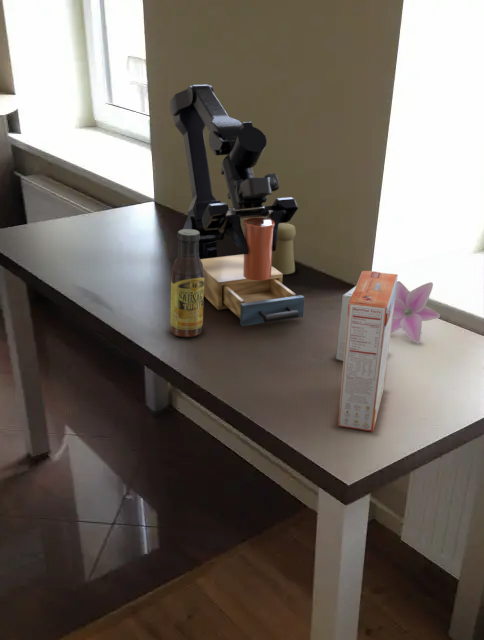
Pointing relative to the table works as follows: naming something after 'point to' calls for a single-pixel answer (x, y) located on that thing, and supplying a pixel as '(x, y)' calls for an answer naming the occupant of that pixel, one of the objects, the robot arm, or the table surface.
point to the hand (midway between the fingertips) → (260, 252)
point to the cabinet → (226, 276)
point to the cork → (284, 249)
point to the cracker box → (366, 349)
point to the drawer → (262, 301)
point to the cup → (258, 248)
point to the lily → (412, 310)
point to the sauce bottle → (187, 286)
